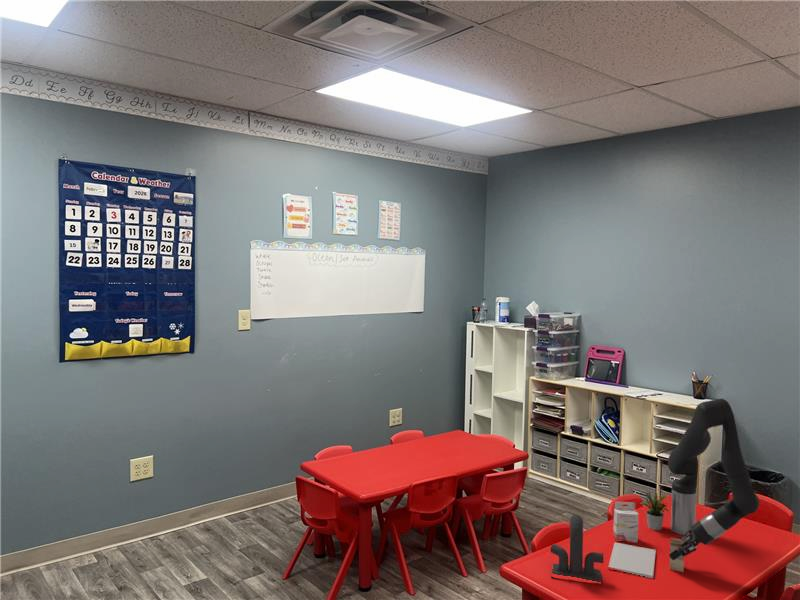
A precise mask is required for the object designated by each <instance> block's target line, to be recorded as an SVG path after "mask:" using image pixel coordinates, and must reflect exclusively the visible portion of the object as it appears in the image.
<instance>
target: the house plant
mask: <svg viewBox="0 0 800 600" xmlns="http://www.w3.org/2000/svg"><path fill="white" fill-rule="evenodd" d="M645 490H646V491H645ZM645 490H644V493H645V494H644V493H643V492H642V491H640V490H635V491H637V492H638V493H641V494H643V495H644V498H642V500H643V499H644V500H645V501H646V502H647V503H646V502H644V501H642V502H640V504H641V505H643V506H644V507H647V508H648V510H645V514H646V520H647V522H646V523H647V527H648V528H649V529H650V530H653V531H660V530H662V529H663V528H662V527H663V523H664V517H665V512H667V514H669V513H670V512H669V509H667V507H668V508H669V506H668V504H665V503H663V502H664V500H665V498H666V497H667V495H669V492H666V493H665V494H663V493H662V494H660V498H659V495H658V488H657V490H656V491H655V493H654V498H652V496H651V493H650V492H649V491H648V490H647V489H645ZM661 496H662V497H661ZM658 498H659V499H658ZM669 499H671V498H667V500H669Z"/></svg>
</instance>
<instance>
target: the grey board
mask: <svg viewBox="0 0 800 600" xmlns="http://www.w3.org/2000/svg"><path fill="white" fill-rule="evenodd" d="M656 554H657V553H656V549H652V548H648V547H642V546H641V547H640V546H636V545H630V544H625V543H622V542H621V543H620V542H617V541H616V542H614V544H613V548H612V551H611V555H610V558H609V563H608V567H610V568H615V569H618V570H621V571H624V572H628V573H632V574H631V575H633V574H636V575H635V576H638V575H640V576H639V577H643V576H645V577H644V578H649V579H654V571H655V562H656ZM608 567H607V568H608ZM628 573H627V574H628Z"/></svg>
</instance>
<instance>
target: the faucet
mask: <svg viewBox="0 0 800 600" xmlns="http://www.w3.org/2000/svg"><path fill="white" fill-rule="evenodd" d="M569 532H570V533H569V554H568V552H567V550H566V549H565V548H563V547H562V546H559V545H558V544H556V543H552V545H550V553H552V555H556V556H557V557H558V563H552V564H553V569H552V573H553V574H557V575H563V576H571V577H577V578H582V579H586V580H592V581H597V582H602V583H603V580H602V579H603V578H602V571H601V570H600V569H599V568H595V563H598V564H604V553H602V552H593V551H591V552H589V553H587V554H586V555H585V556H583V555H584V554H583V553H584V552H583V551H584V550H583V549H584V521H583V518H582V516H581V515H579V514H576V513H575V514H572V515H571V516H570V519H569ZM583 557H584V558H583ZM583 559H584V564H583ZM583 565H584V566H583Z"/></svg>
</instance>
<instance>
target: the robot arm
mask: <svg viewBox="0 0 800 600" xmlns="http://www.w3.org/2000/svg"><path fill="white" fill-rule="evenodd" d="M694 409H695V410H694V412H693V416H692V419H691V421H690V423H689V425H688V427H687V429H686V430H685V431H684V434H683V435H682V437H681V439H680V441H679V442H678V444H677V446H675V448H673V450H672V451H671V452H670V454H669V456H668V459H667V467H668V470H669V471H670V473H672V474H673V475H679V476H683V477H681V478H679V479H677V480H673V481H672V483H671V501H670V502H671V509H670V510H671V511H670V512H671V513H670V514H671V515H670V530H671V531H672V532H673V533H676V534H678V535H680V536H681V535H682V536H681V537H680V538H679V539H681V540H683V542H682V543H681V546H680V547H679V548H677V549H676V550H675V551H674V552H672V553H671V554H670V553H669V559H670V558H671V559H672V560H675V559H676V558H678V557H679V556H681V555H682V556H683V557H684V558H685V557H686V556H688V555H690V554H691V553H694V552H695V551H697V547H698V546H699V544H700V543H701V544H703V545H705V546H707V545H709V544H711V543H712V542H714V541H715V540H716V539H718V538H719V537H721V536H723V534H725V532H727V531H728V530H730V529H731V528H732V527H735V525H736V524H737V523H739V521H740V520H742V519H743V518H745V517H746V516H748V515H751V514H754V513H756V512H757V510H758V509H759V506H760V503H761V502H760V499H759V497H758V495H757V494H756V493H755V492H754V489H753V486H752V485H751V484H752V483H751V476H750V473H749V470H748V469H747V465H746V462H745V460H744V456H743V454H742V448H741V445H740V439H739V434H738V429H737V426H736V420H735V416H734V412H733V409H732V407H731V405H730V403H729V402H728V401H727V400H726V399H724V398H717V399H713V400H712V399H711V400H707V401H702V402H700V403H698V404H697V406H696V408H694ZM720 426H722V427H723V430H724V436H725V437H724V444H723V449H722V453H721V454H722V455H721V463H722V467H723V469H724V472H725V475H726V478H727V481H728V482H729V486H730V491H731V494H732V497H733V498H731V499H730V500H729V501H728V502H726V503H725V504H723V505H722V506H720V507H718V508H717V509H715V510H714V511H712V512H711V513H709V514H706V515H705V516H704V517H702V518H701V519H699V520H697V521H696V518H697V515H696V514H697V512H696V511H697V506H696V505H697V488H698V487H697V486H698V475H699V460H698V457H697V456H699V455H701V454H703V453H704V452H705V451H706V450H707V448H708V446H709V445H710V443H711V440H712V437H711V434H710V432H709V430H708V429H711V428H714V427H715V428H716V427H720ZM683 550H684V552H683Z"/></svg>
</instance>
